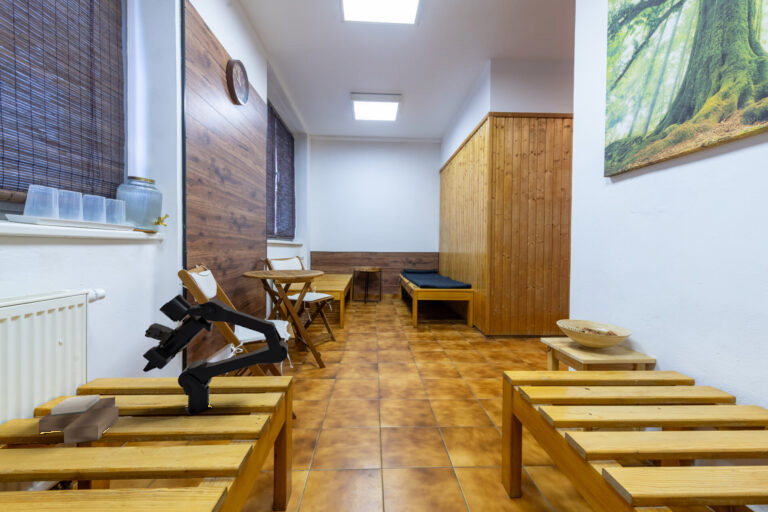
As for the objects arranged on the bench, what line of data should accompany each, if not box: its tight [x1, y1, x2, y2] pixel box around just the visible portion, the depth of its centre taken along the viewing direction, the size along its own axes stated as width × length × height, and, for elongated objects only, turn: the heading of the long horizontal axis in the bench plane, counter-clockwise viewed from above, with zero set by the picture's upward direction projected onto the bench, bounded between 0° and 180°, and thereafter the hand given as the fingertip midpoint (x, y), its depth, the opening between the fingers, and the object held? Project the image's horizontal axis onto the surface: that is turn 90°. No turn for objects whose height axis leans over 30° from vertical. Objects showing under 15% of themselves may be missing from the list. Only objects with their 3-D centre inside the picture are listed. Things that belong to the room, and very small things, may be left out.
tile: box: [50, 394, 101, 416], centre depth 86 cm, size 2×6×8 cm
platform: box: [38, 396, 119, 445], centre depth 84 cm, size 16×16×4 cm
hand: (144, 370), depth 91 cm, fingers closed
